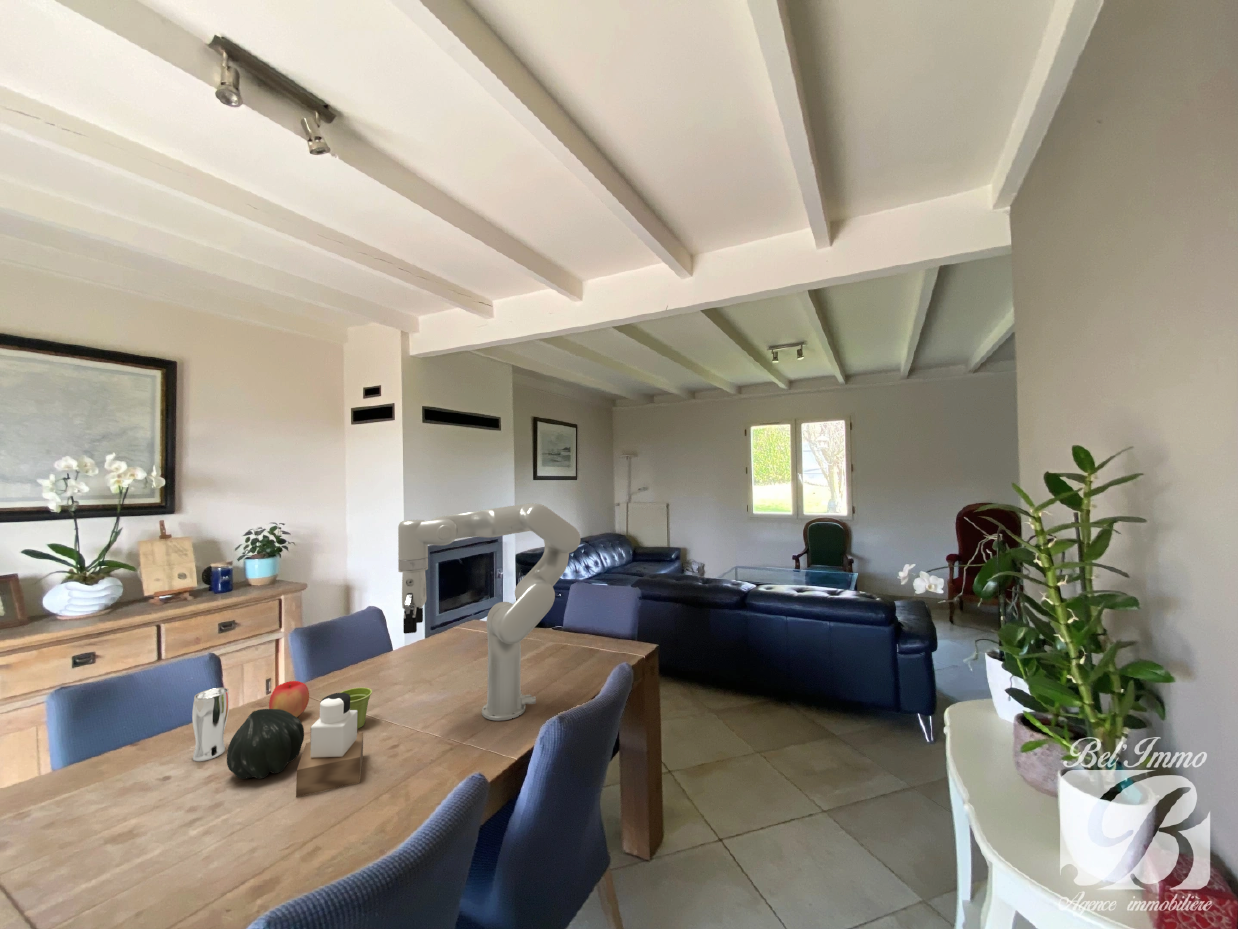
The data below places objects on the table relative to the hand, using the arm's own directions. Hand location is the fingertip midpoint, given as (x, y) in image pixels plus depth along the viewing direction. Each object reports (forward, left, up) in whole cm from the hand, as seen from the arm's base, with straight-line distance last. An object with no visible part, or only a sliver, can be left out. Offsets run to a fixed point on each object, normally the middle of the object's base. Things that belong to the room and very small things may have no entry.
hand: (413, 627), depth 131 cm
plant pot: (+17, -7, -28) cm, 33 cm away
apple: (+36, -15, -28) cm, 48 cm away
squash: (+30, +11, -28) cm, 42 cm away
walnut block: (+14, +17, -28) cm, 36 cm away
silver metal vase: (+47, +1, -28) cm, 55 cm away
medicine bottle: (+13, +17, -22) cm, 31 cm away
